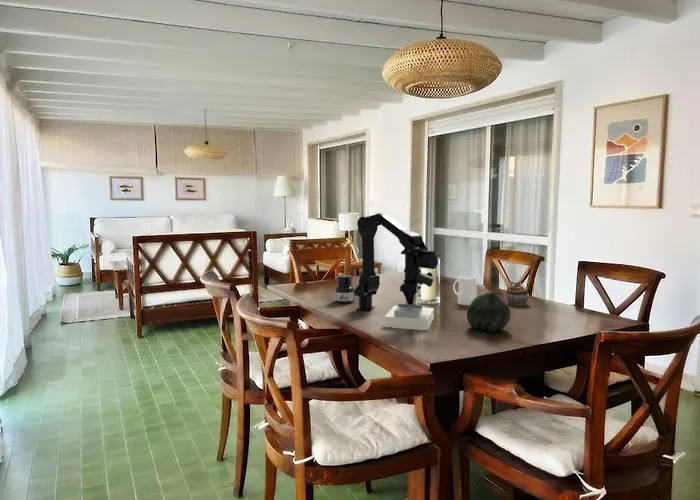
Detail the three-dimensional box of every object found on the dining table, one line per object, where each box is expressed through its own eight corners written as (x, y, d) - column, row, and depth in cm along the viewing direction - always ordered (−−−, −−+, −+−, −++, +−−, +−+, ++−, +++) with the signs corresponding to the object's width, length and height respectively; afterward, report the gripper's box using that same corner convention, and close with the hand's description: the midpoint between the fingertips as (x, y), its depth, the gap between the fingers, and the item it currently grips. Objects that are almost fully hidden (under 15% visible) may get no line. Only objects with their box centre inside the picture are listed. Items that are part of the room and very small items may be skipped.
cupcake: (510, 306, 219) (511, 284, 218) (503, 302, 228) (503, 280, 227) (532, 306, 219) (532, 284, 218) (523, 301, 229) (524, 280, 228)
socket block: (394, 315, 202) (394, 305, 202) (433, 318, 198) (434, 308, 197) (384, 327, 184) (384, 316, 184) (427, 330, 180) (427, 319, 179)
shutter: (398, 311, 192) (398, 303, 192) (421, 312, 190) (422, 304, 189) (394, 316, 184) (394, 308, 184) (418, 317, 181) (418, 309, 181)
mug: (448, 302, 228) (448, 276, 227) (459, 299, 233) (460, 274, 232) (469, 306, 219) (469, 279, 218) (480, 303, 224) (481, 277, 223)
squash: (471, 307, 192) (469, 283, 182) (511, 312, 187) (512, 287, 176) (465, 338, 184) (463, 314, 173) (507, 344, 178) (508, 320, 168)
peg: (407, 313, 197) (407, 288, 196) (417, 314, 196) (418, 289, 195) (405, 315, 193) (405, 290, 192) (416, 316, 192) (416, 291, 191)
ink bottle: (332, 303, 225) (332, 277, 224) (336, 299, 234) (336, 274, 232) (353, 304, 223) (353, 277, 222) (356, 300, 232) (356, 274, 231)
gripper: (430, 270, 181) (429, 312, 183) (435, 264, 199) (435, 302, 201) (400, 269, 185) (399, 310, 186) (408, 263, 202) (407, 300, 204)
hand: (411, 306), depth 194 cm, fingers closed on peg, 4 cm apart
